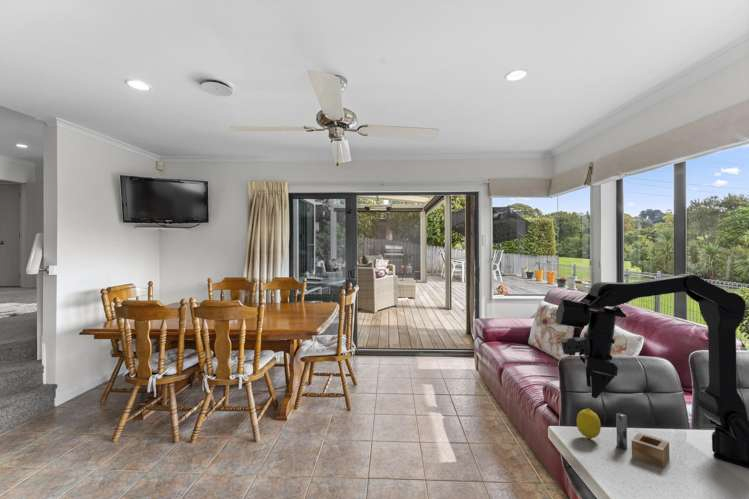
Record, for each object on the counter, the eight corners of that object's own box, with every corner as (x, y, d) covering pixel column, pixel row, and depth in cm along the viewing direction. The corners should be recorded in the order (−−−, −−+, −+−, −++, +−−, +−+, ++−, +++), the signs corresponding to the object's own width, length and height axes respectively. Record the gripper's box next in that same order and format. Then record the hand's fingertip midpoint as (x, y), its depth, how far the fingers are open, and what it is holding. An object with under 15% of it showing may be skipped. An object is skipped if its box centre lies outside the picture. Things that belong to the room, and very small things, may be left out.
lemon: (594, 434, 98) (593, 404, 98) (605, 445, 92) (604, 413, 92) (573, 433, 98) (572, 404, 98) (582, 444, 93) (582, 412, 93)
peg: (628, 447, 91) (627, 415, 91) (625, 450, 89) (625, 417, 90) (618, 443, 93) (617, 412, 93) (615, 446, 91) (614, 415, 91)
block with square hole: (669, 458, 86) (669, 441, 86) (663, 468, 82) (662, 450, 82) (639, 448, 90) (638, 432, 90) (631, 457, 86) (631, 440, 87)
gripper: (562, 320, 103) (555, 373, 104) (567, 330, 86) (558, 393, 87) (607, 328, 99) (599, 384, 99) (622, 340, 82) (612, 408, 82)
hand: (591, 391), depth 92 cm, fingers open, 9 cm apart
